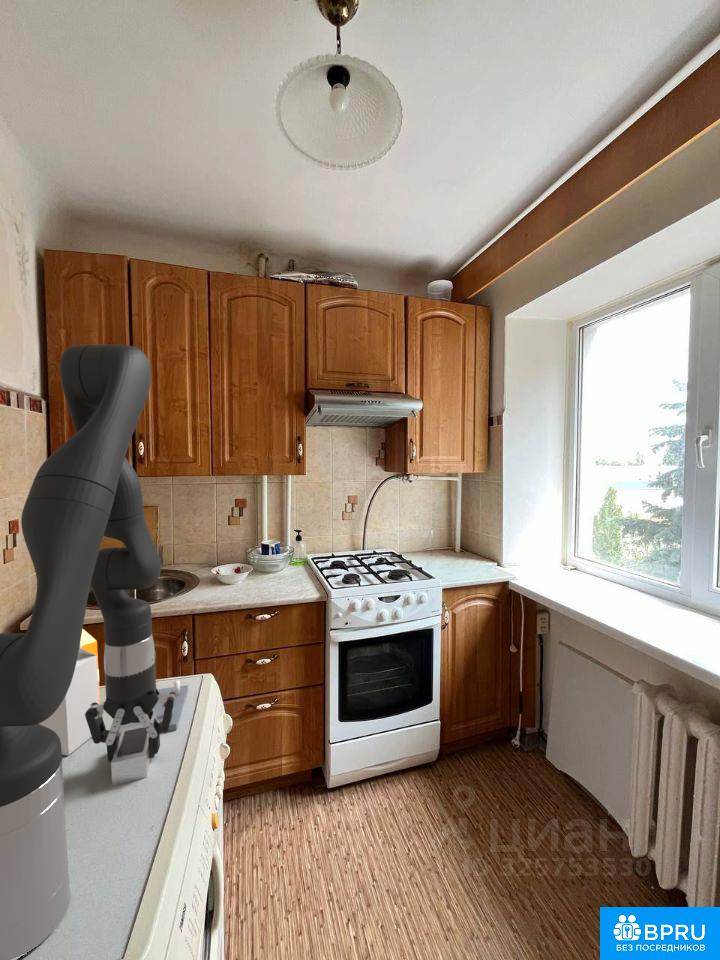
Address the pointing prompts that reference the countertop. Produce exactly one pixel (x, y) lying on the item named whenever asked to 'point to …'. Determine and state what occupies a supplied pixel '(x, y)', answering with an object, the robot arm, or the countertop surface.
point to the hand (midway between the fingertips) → (134, 757)
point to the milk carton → (76, 704)
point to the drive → (131, 755)
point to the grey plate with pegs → (177, 710)
